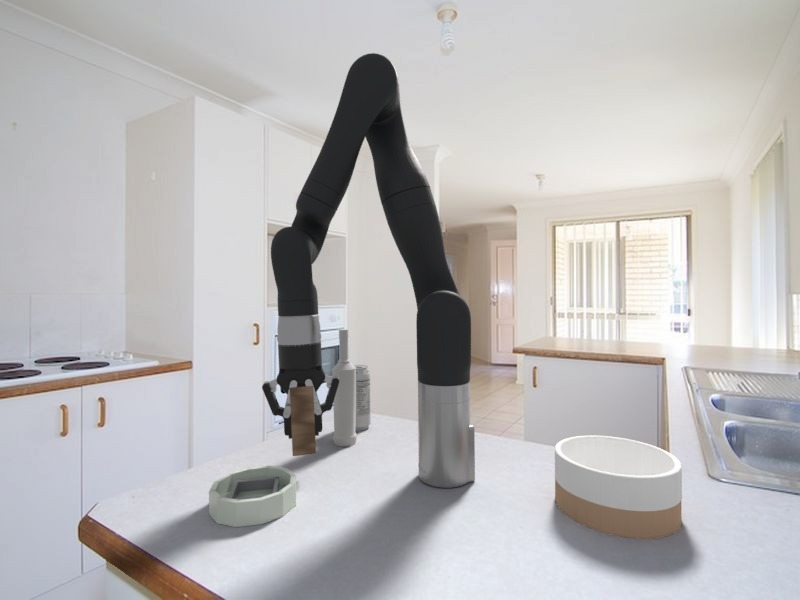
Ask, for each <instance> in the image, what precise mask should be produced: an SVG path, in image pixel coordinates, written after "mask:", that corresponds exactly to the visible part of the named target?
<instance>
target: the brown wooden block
mask: <svg viewBox="0 0 800 600" xmlns="http://www.w3.org/2000/svg"><path fill="white" fill-rule="evenodd" d="M290 406H291V429H292V439H291V446H292V447H291V449H292V450H291V451H292V457H299V456H308V455H315V454H317V444H316V442H317V441H316V436H315V418H314V413H315V411H314V395H313V386H297V387H293V388H290Z"/></svg>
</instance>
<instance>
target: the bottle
mask: <svg viewBox="0 0 800 600" xmlns="http://www.w3.org/2000/svg"><path fill="white" fill-rule="evenodd" d="M338 339H339V344H338V346H339V349H338V351H339V353H338V354H339V359H338V360H337V363H336V364H335V366H333V367H332V368H331V369H332V371H331V372H332V375H331V376H332V377H333V376H337V377H338V379H339V385H338V388H337V391H336V395H335V398H334V402H333V405H332V407H333V430H334V431H333V437H332V439H333V440H332V441H333V444H334V445H335V446H338V447H351V446H353V445H355V444H356V442H357V437H358V434H357V433H356V431H355V424H356V367H355V366H354V365H355V364H353V363H352V362H351V360H350V358H349V329H344V328H341V329H340V328H339V329H338Z"/></svg>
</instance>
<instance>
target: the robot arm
mask: <svg viewBox="0 0 800 600" xmlns="http://www.w3.org/2000/svg"><path fill="white" fill-rule="evenodd" d="M340 94H341V95H340V97H339V101H338V104H337V106H336V111H335V113H334V117H333V119H332V122H331V124H330V127H329V130H328V132H327V135H326V137H325V140H324V142H323V144H322V147H321V149H320V151H319V154H318V156H317V158H316V160H315V163H314V164H313V166H312V169H311V171H310V172H309V174H308V176H307V179H306V180H305V182H304V184H303V186H302V188H301V191H300V193H299V194H298V196H297V200H296V203H295V210H296V214H295V216H294V219H293V221H292V224H291V226H285V227H283V228H280V229H279V230H278V231H277V232H276V233H275V235H274V236H273V237H272V240H271V244H270V245H271V246H270V259H271V266H272V271H273V276H274V281H275V285H276V289H277V316H278V317H277V319H278V320H277V336H276V340H277V351H278V352H277V354H278V374H277V377H276V378H275V379H272V380H270V381H269V380H267V381H264V382H263V384H262V386H261V389H262V391H263V394H264V396H265V398H266V401H267V404H268V406H269V408H270V410H271V413H272V415H273V416H277V417H278V416H280V417H282V418H283V430H284V431H283V432H284V433H283V434H284V435H285V437H287V436H288V439H289V440H290V439H291V440H292V429H291V406H290V388H293V387H297V386H313V395H314V418H315V437H317V436H320V433H322V432H323V414H324V413H325V412H329V411H331V410H332V407H333V402H334V398H335V395H336V391H337V388H338V385H339V379H338V377H337V376H332V375H328V374H326V373H325V371H324V369H323V363H322V362H323V359H322V358H323V357H322V355H323V354H322V334H321V333H322V332H321V324H320V317H319V298H318V290H317V287H316V285H315V283H314V281H313V264H314V263H315V262H316V261H317V259H318V258H319V255H320V253H321V251H322V249H323V246H324V243H325V239H326V237H327V235H328V232H329V228H330V224H331V222H332V220H333V219H334V217H335V215H336V213H337V211H338V208H339V206H340V204H341V203H342V201H343V199H344V197H345V194H346V192H347V191H348V188H349V185H350V183H351V180H352V177H353V174H354V170H355V169H356V164H357V160H358V157H359V154H360V151H361V148H362V145H363V143H364V141H365V139H366V142H367V144H368V146H369V151H370V153H371V157H372V163H373V169H374V170H373V171H374V176H375V180H376V187H377V190H378V195H379V196H378V197H379V198H380V204H381V206H382V209H383V213H384V216H385V220H386V222H387V225H388V228H389V231H390V233H391V236H392V238H393V240H394V242H395V245H396V247H397V249H398V251H399V254H400V256H401V258H402V260H403V262H404V263H405V264H404V265H405V266H406V269H407V271H408V273H409V276H410V280H411V284H412V288H413V293H414V297H415V301H416V309H417V311H416V366H417V413H418V414H417V417H418V419H417V421H418V422H417V423H418V428H417V429H418V432H417V433H418V434H417V435H418V441H417V442H418V479H420V481H421V482H423V483H424V484H427V485H429V486H431V487H436V488H443V489H446V488H449V489H450V488H457V487H461V486H464V485H467V483H469V482H470V483H471V482H475V480H476V472H475V471H476V458H475V457H476V455H475V454H476V450H475V447H476V446H475V441H476V440H475V436H476V435H475V430H476V429H475V426H474V425H473V424H472V423H471V379H470V378H471V366H472V316H471V311H470V307H469V306H468V303H467V302H466V300H465V299H464V298H463V297H461V295H460V292H459V290H458V288H457V286H456V284H455V281H454V278H453V276H452V273H451V271H450V267H449V264H448V262H447V257H446V253H445V246H444V245H445V244H444V238H443V232H442V227H441V221H440V216H439V213H438V209H437V205H436V202H435V198H434V195H433V192H432V188H431V186H430V183H429V180H428V178H427V175H426V173H425V171H424V169H423V167H422V165H421V164H420V161H419V159H418V158H417V155H416V154H415V152H414V150H413V148H412V145H411V143H410V141H409V137H408V135H407V131H406V126H405V121H404V117H403V111H402V106H401V105H402V104H401V94H400V80H399V76H398V73H397V70H396V67H395V66H394V64H393V62H392V61H391V60H390V59H389V58H387V56H385V55H382V54H380V53H376V52H372V53H366V54H364V55H362V56H359V57H358V58H357V59H356V60H355V61H354V62H353V63H352V64H351V65H350V68H349V69H348V72H347V74H346V77H345V81H344V85H343V87H342V91H341V93H340ZM324 382H326V383H325V385H326V388H327V389H328V391H327V393H326V398H325V400H324V402H323V403H321V402H320V399H319V395H318V391H319V389H320V387H321V386H322V384H323V383H324ZM277 385H278V386H279V388H281V389H282V390H283V391H284V393H285V394H286V401H285V405H284V407H283V406H281V405H280V404H279V401H278V399H277V397H276V394H275V393H276V391H277Z"/></svg>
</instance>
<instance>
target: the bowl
mask: <svg viewBox="0 0 800 600" xmlns="http://www.w3.org/2000/svg"><path fill="white" fill-rule="evenodd" d="M682 468H683V466H682V463H681V461H680V460H679V458H677V457H676V456H675V455H674V454H672V453H671V452H669V451H666V449H665V450H664V449H662V448H660V447H658V446H655V445H653V444H650V443H646V442H641V441H638V440H634V439H630V438H624V437H617V436H609V435H608V436H607V435H593V434H592V435H576V436H571V437H567V438H564V439H561V440H560V441H558V442H557V443H556V445H555V446H554V490H555V491H554V493H555V494H554V496H555V497H554V500H555V503H556V505H557V507H558V509H559V510H560V511H561V512H562V513H563V514H564V515H566V516H567V517H568V518H569V519H571V520H573V521H575V523H578V524H580V525H582V526H584V527H587V528H589V529H592V530H594V531H598V532H600V533H603V534H606V535H611V536H616V537H621V538H628V539H638V540H650V539H651V540H654V539H660V538H665V537H668V536H671V535H673V534H675V533H677V532H678V531H679V529H680V528H681V526H682V499H683V490H682V489H683V485H682V484H683V469H682Z"/></svg>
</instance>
